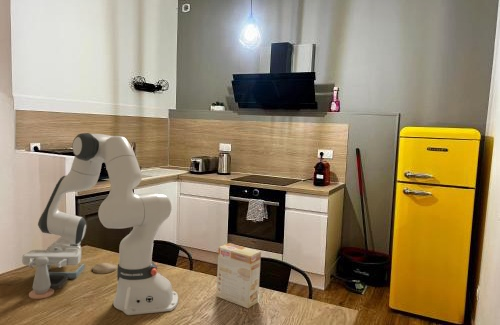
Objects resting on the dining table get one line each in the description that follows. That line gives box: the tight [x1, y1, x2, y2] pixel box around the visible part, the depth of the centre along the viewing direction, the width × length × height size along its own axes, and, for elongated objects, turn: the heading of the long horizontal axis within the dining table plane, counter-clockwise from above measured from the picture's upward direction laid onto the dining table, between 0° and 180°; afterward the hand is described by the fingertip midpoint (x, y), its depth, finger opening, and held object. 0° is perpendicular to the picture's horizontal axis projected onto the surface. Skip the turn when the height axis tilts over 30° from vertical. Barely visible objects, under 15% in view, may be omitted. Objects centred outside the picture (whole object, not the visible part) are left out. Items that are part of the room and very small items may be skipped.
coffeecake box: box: [215, 242, 262, 309], centre depth 138 cm, size 15×7×20 cm, turn 56°
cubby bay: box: [47, 263, 85, 279], centre depth 152 cm, size 10×15×2 cm, turn 97°
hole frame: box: [49, 275, 69, 290], centre depth 143 cm, size 9×9×2 cm
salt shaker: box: [31, 256, 51, 295], centre depth 134 cm, size 6×6×13 cm
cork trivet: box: [92, 262, 118, 275], centre depth 159 cm, size 10×10×1 cm
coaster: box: [28, 288, 55, 300], centre depth 134 cm, size 8×8×1 cm
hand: (44, 265), depth 136 cm, fingers open, 8 cm apart
